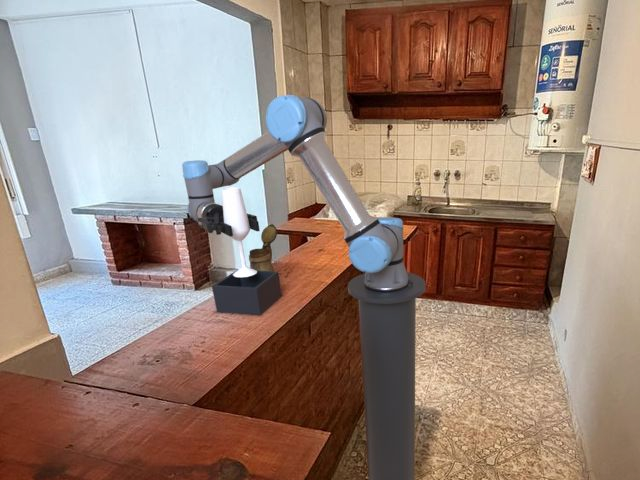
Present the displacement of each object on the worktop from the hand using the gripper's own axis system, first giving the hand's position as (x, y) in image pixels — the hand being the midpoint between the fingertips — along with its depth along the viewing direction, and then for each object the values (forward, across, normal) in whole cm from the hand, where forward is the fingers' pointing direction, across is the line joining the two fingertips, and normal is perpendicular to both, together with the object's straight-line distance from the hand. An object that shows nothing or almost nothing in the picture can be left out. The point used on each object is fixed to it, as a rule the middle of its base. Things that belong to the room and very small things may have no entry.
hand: (244, 228), depth 106 cm
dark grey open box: (-5, 0, -24) cm, 24 cm away
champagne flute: (-5, 0, -14) cm, 15 cm away
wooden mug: (-20, -13, -24) cm, 33 cm away
